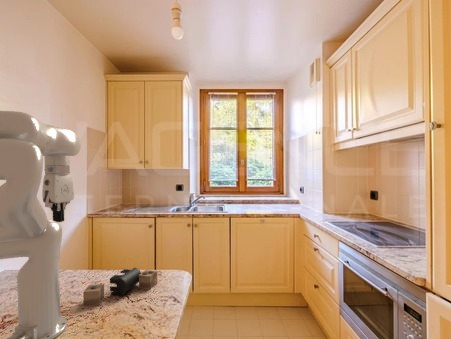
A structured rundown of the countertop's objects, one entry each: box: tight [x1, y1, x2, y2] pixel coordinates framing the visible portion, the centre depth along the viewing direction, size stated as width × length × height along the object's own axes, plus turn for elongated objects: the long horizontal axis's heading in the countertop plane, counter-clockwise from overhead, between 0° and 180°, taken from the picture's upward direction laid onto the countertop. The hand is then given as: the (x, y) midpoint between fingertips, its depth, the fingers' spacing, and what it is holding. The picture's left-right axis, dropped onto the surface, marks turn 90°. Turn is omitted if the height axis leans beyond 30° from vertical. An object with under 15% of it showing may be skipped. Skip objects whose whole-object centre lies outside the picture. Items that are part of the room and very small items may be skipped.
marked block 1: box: [82, 283, 105, 308], centre depth 88 cm, size 5×5×5 cm
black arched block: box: [109, 267, 142, 297], centre depth 96 cm, size 10×7×7 cm
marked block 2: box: [138, 269, 158, 290], centre depth 99 cm, size 5×5×5 cm
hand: (58, 221), depth 92 cm, fingers closed
